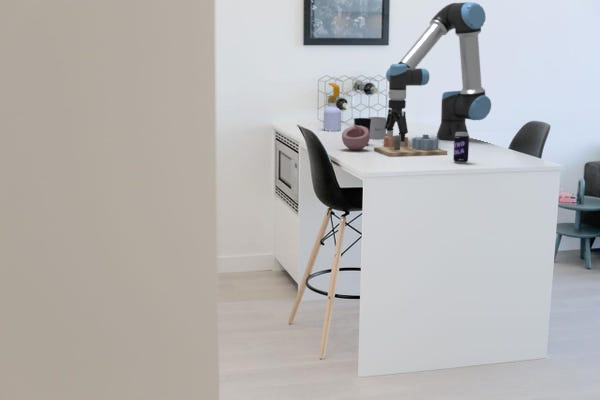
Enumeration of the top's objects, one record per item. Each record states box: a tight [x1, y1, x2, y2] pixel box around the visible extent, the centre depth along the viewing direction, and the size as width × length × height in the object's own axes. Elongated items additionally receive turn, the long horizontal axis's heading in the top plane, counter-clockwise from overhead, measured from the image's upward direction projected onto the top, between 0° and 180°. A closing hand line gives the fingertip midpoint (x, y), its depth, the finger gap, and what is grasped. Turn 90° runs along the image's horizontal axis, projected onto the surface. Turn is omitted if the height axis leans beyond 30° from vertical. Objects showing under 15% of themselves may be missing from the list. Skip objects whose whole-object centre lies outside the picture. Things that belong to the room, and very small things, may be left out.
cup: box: [353, 117, 371, 147], centre depth 386 cm, size 8×8×12 cm
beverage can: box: [452, 132, 470, 164], centre depth 335 cm, size 6×6×12 cm
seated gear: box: [411, 136, 440, 151], centre depth 364 cm, size 11×11×4 cm
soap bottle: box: [323, 82, 342, 132], centre depth 443 cm, size 9×9×25 cm
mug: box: [368, 116, 394, 141], centre depth 412 cm, size 12×9×10 cm
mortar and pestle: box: [341, 123, 371, 151], centre depth 368 cm, size 12×12×11 cm
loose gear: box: [383, 135, 409, 147], centre depth 379 cm, size 11×11×4 cm
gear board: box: [373, 134, 448, 158], centre depth 362 cm, size 26×18×8 cm
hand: (395, 147), depth 380 cm, fingers open, 13 cm apart
